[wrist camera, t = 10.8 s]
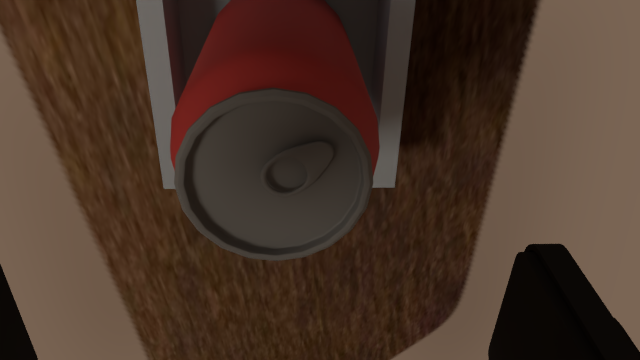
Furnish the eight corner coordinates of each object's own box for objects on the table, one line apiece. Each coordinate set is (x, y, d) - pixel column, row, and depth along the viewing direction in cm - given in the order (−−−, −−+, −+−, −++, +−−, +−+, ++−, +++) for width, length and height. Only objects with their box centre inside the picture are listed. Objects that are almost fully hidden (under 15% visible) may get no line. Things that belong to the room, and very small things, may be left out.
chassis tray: (150, -78, 23) (126, -67, 19) (402, -72, 24) (422, -61, 20) (178, 149, 29) (163, 188, 25) (381, 149, 29) (394, 187, 26)
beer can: (374, 68, 26) (433, 205, 15) (266, 140, 27) (254, 307, 17) (295, -53, 23) (302, 18, 12) (178, 36, 24) (101, 163, 14)
